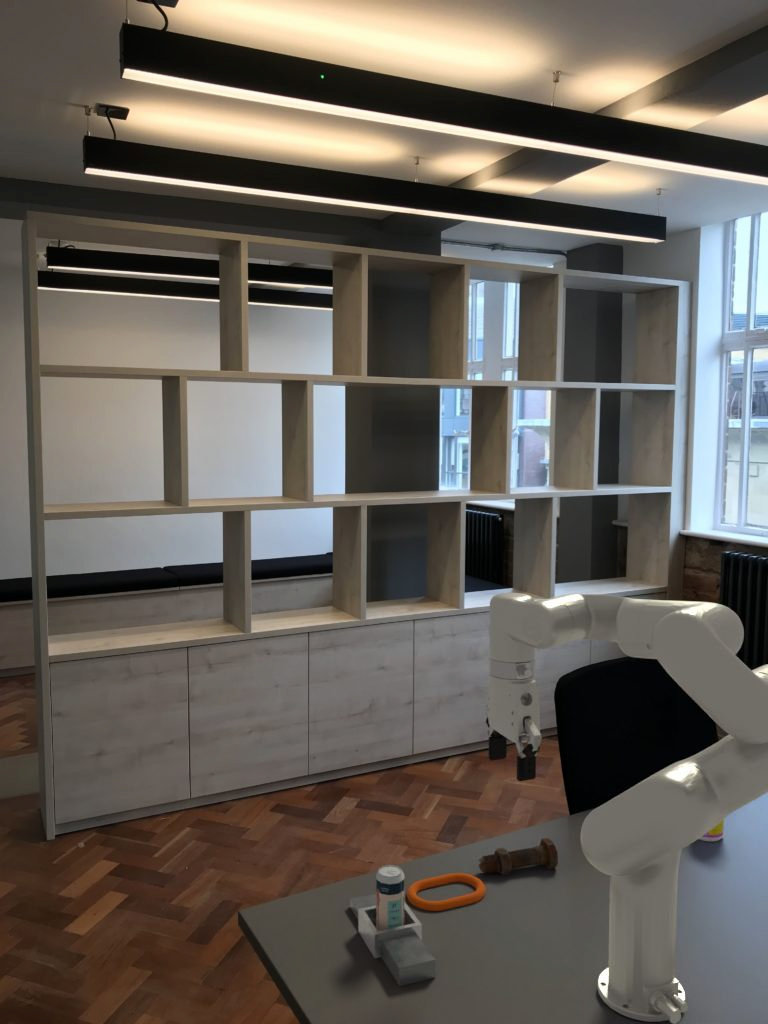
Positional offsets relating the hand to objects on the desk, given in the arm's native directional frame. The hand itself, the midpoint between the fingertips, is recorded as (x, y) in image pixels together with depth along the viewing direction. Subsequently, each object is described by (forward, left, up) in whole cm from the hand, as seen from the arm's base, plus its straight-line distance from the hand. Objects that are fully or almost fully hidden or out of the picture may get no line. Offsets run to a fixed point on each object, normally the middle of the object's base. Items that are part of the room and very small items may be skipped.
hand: (511, 768), depth 143 cm
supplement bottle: (+17, -56, -28) cm, 65 cm away
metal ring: (+15, +5, -29) cm, 33 cm away
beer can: (+5, +20, -28) cm, 35 cm away
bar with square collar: (+5, +20, -28) cm, 35 cm away
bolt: (+19, -12, -29) cm, 36 cm away
